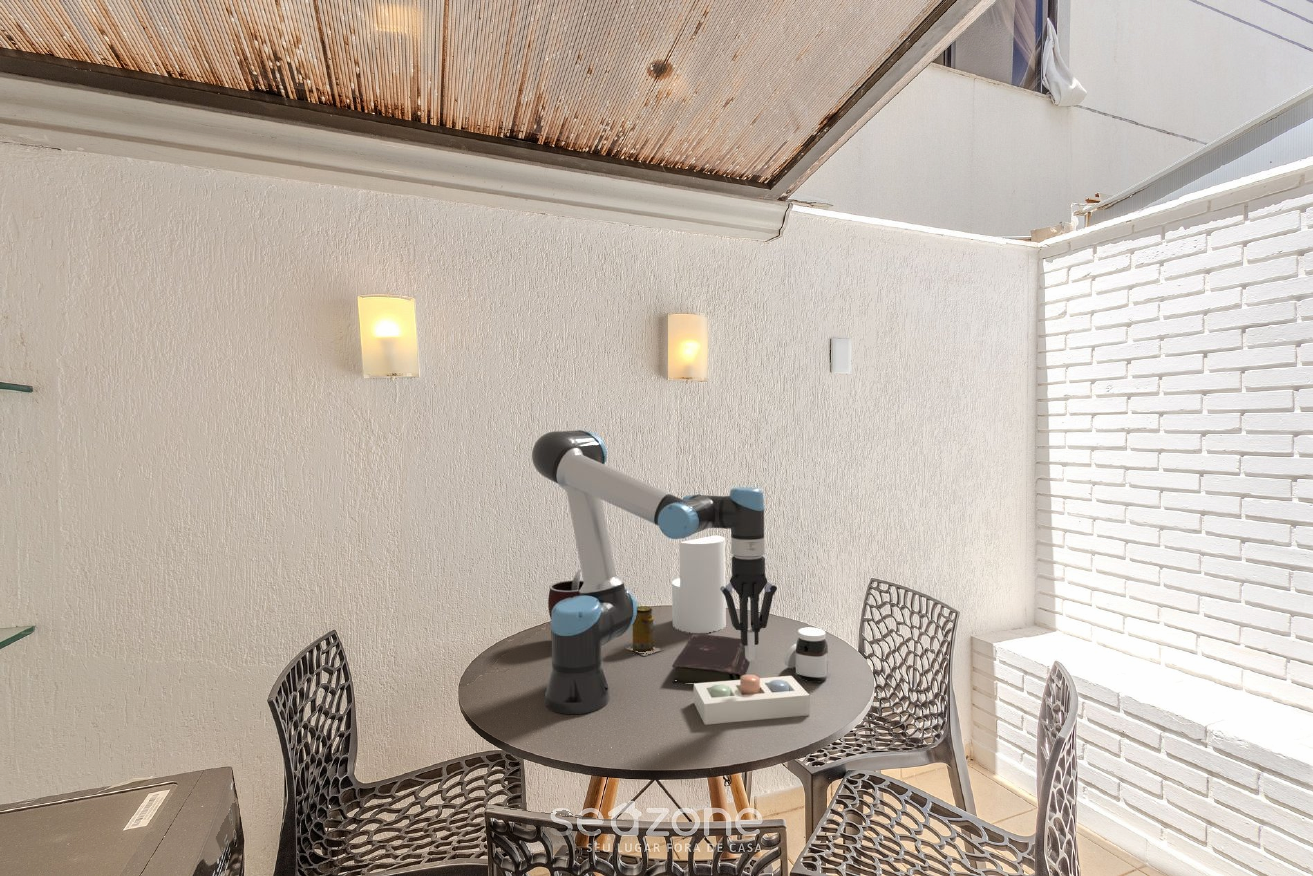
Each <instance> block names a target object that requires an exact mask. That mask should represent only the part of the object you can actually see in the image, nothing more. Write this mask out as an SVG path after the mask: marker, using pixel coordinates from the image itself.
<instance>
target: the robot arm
mask: <svg viewBox="0 0 1313 876" xmlns="http://www.w3.org/2000/svg"><path fill="white" fill-rule="evenodd" d="M606 447H607V446H606V445H605V442H604V441H603V440H602V438H600V437H599V436H598V435H597V434H596V433H594V432H591V431H586V430H580V429H578V430H564V431H563V430H561V431H556V430H554V431H550V432H549V431H548V432H547V433H544V434H543V435H542V436H540V437H539V438H538V439H537V440H536V442H535V443H534V445H533V448H532V451H531V460H532V464H533V466H534V468H535V470H536V471H537V472H538V473H539V474H540V475H541V476H542V477H544V478H546V479H548V480H550V481H551V482H553V483H556V484H558V485H559V487H560V488H561V489H563V490H564V491H565V492H566V496H567V497H566V498H567V501H568V505H569V506H568V507H569V511H570V517H571V522H572V528H573V532H574V533H573V534H574V538H575V543H576V544H575V545H576V548H577V553H578V560H579V566H580V570H581V575H582V581H583V582H584V583H583V586H582V587H581V589H580V590H579V592H580V596H574V597H573V598H566V599H564V600H562V601H560V602H558V603H557V604H556V605H555V606H554V608H553V610H552V616H551V618H550V630H551V633H550V634H551V672H550V675H549V679H548V683H547V687H546V690H545V692H544V704H545V706H546V708H548V709H549V710H550V711H552V712H555V713H559V714H564V715H579V714H587V713H588V714H589V713H591V712H594V711H598V710H599V709H601V708H604V707H605V706H606V705H607V704H608V702H609V701H610V687H609V685H608V681H607V678H606V676H605V673H604V670H603V666H602V646H604V645H606V644H608V643H609V642H611V641H613V640H614V639H616V638H619V637H621V636H623V635H624V634H625V633H626V632H627V631H628V630H630V629H631V627H633V623H634V621H635V619H636V615H637V605H636V602H637V600H636V599H634V598H635V597H634V595H633V594H632V593H630V591H629V589H626V588H625V582H624V580H623V579H621V578H619V577H618V576H617V571H616V567H615V562H614V557H613V556H614V555H613V551H612V545H611V540H610V536H609V535H610V534H609V531H608V525H607V520H606V519H607V518H606V514H605V509H604V505H603V501H604V502H606V503H608V504H610V505H612V506H615V507H617V508H619V509H621V510H624V511H625V512H628V513H630V514H632V515H634V516H636V517H638V518H640V519H642V520H644V521H647V522H649V523H652V524H653V525H655V526H658V528H659V530H660V531H661V532H662V534H663V535H664V536H665V537H667V539H668V538H669V539H672V540H679V539H686V538H688V537H690V536H692V535H694V534H697V533H699V532H702V531H704V530H707V529H727V530H730V539H731V541H730V542H731V543H730V545H731V546H730V547H731V549H730V551H731V552H730V553H731V555H732V557H731V577H730V579H729V583H728V584H725V587H724V586H722V587H721V589H720V590H721V591H722V593H723V594H724V596H725V599H726V606H727V611H728V613H729V617H730V621H731V625H732V627H733V628H734V629H735V631H740V639H741V643H742V645H743V646H745V658H746V659H747V660H748V661H750V662H755V661H756V650H755V649H756V647H755V646H759V642H760V641H759V639H760V638H759V635H760V631H761V630H762V629H766V628H767V626H768V621H769V616H770V612H771V607H772V603H773V602H772V601H773V599H774V595H775V593H776V592H777V590H778V587H777V585H775V584H773V583H771V582H769V581H768V578H767V577H766V558H765V556H764V555H765V554H766V553H765V551H766V549H765V510H766V509H765V502H764V493H763V491H762V489H760V488H758V487H754V486H752V487H749V486H747V487H746V486H745V487H743V486H739V487H738V486H737V487H733V488H731V489H730V492H729V495H728V496H727V495H725V496H724V495H704V494H698V493H697V494H690V495H689V494H688V495H685V496H684V497H683V498H680V497H678V496H675V495H673V494H671V493H669V492H668V491H665V490H662V489H660V488H659V487H655V486H654V485H651V484H649V483H646V482H644V481H643V480H640V479H638V478H635V477H633V476H631V475H629V474H626V473H624V472H622V471H620V470H617V469H615V468H613V467H610V466H608V465H607V464H606V463H607V460H608V459H607V458H608V452H607V448H606ZM763 589H764V593H763V597H762V598H763V599H762V603H761V606H760V607H761V608H760V607H759V605H760V604H759V603H760V595H761V593H762V592H763ZM733 590H734V591H735V592H736V594H737V595H738V600H739V617H738V612H737V608H736V605H735V601H734V598H733V596H732V595H733V592H734V591H733ZM635 600H636V601H635ZM748 603H749V604H750V605H749V607H750V627H751V628H749V612H748V611H749V609H748V608H749V607H748ZM759 611H760V612H759Z"/></svg>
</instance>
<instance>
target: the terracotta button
mask: <svg viewBox="0 0 1313 876" xmlns="http://www.w3.org/2000/svg"><path fill="white" fill-rule="evenodd" d="M760 678H761V677H759V676H757V675H754V674H746V675H743V676H741V677H739V680H740V693H741V694H742V695H750V694H760Z"/></svg>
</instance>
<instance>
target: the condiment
mask: <svg viewBox="0 0 1313 876" xmlns="http://www.w3.org/2000/svg"><path fill="white" fill-rule="evenodd" d="M652 612H653V609H652V607H650V606H647V605H640V606H639V605H638V607H637V615H636V619H635V621H634V623H633V625H632V646H629V647H626V649H627V650H628V651H631V652H632V651H638V652H646V651H651V650H652V649H653V646H654V617H653V613H652ZM631 647H633V648H631ZM629 649H633V650H629ZM656 649H661V648H659V647H657V648H656ZM638 652H634V653H636V654H638V655H641V656H643V657H645V656H646V657H647V656H648V655H643V654H644V653H638ZM646 654H647V653H646ZM650 654H651V655H653V654H652V653H650Z"/></svg>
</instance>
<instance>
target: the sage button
mask: <svg viewBox="0 0 1313 876" xmlns="http://www.w3.org/2000/svg"><path fill="white" fill-rule="evenodd" d="M726 696H730V687H729V686H726V685H721V684H719V685H714V686H712V687H711V697H712V698H714V697H726Z"/></svg>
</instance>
